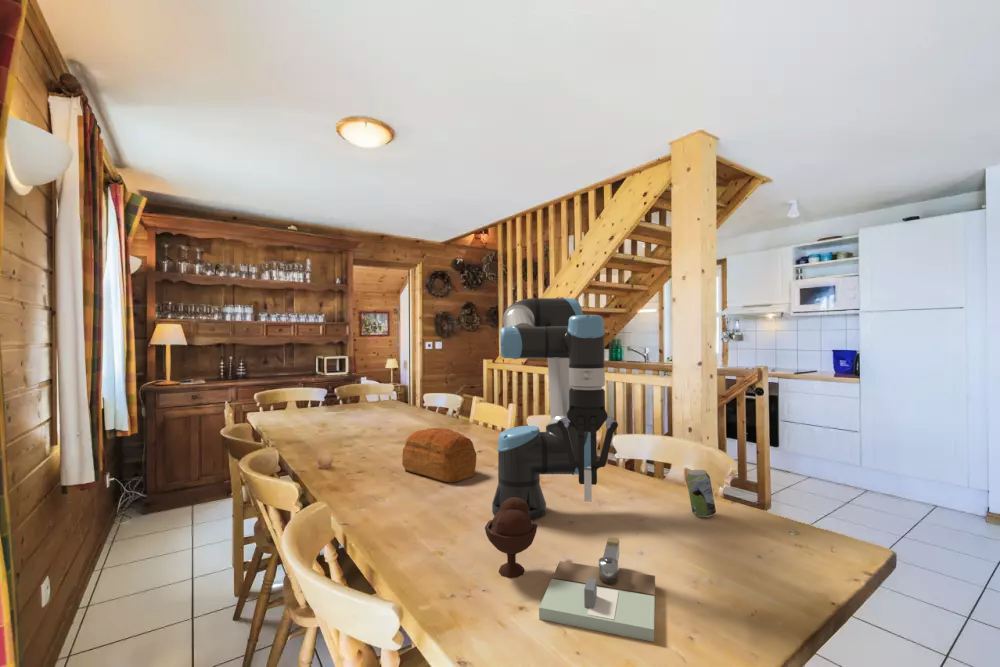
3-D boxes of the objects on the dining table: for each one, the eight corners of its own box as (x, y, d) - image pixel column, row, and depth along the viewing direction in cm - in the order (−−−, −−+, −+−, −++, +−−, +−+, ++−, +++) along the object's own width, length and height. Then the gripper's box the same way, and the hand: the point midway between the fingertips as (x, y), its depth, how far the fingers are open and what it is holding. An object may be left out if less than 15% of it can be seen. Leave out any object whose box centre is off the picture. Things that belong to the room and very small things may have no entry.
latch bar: (617, 584, 87) (617, 565, 87) (597, 581, 88) (597, 562, 88) (622, 554, 99) (622, 538, 99) (605, 552, 100) (604, 535, 100)
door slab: (539, 618, 80) (538, 589, 80) (551, 589, 90) (551, 562, 90) (653, 641, 74) (653, 609, 74) (654, 607, 84) (654, 578, 84)
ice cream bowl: (483, 560, 102) (483, 492, 102) (533, 557, 103) (533, 490, 103) (486, 586, 91) (485, 510, 91) (542, 583, 92) (541, 508, 92)
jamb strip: (552, 587, 90) (552, 575, 90) (559, 570, 97) (559, 559, 97) (654, 605, 84) (654, 593, 84) (655, 585, 91) (655, 574, 91)
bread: (447, 485, 153) (447, 438, 153) (398, 470, 170) (397, 427, 170) (481, 474, 165) (480, 430, 165) (431, 461, 182) (431, 421, 183)
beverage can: (718, 520, 122) (718, 475, 122) (689, 518, 124) (688, 473, 124) (712, 511, 129) (712, 468, 129) (684, 509, 130) (684, 467, 130)
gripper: (554, 389, 96) (556, 503, 95) (619, 389, 93) (621, 507, 93) (556, 385, 103) (557, 492, 103) (617, 386, 101) (618, 495, 100)
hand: (587, 499), depth 98 cm, fingers closed
